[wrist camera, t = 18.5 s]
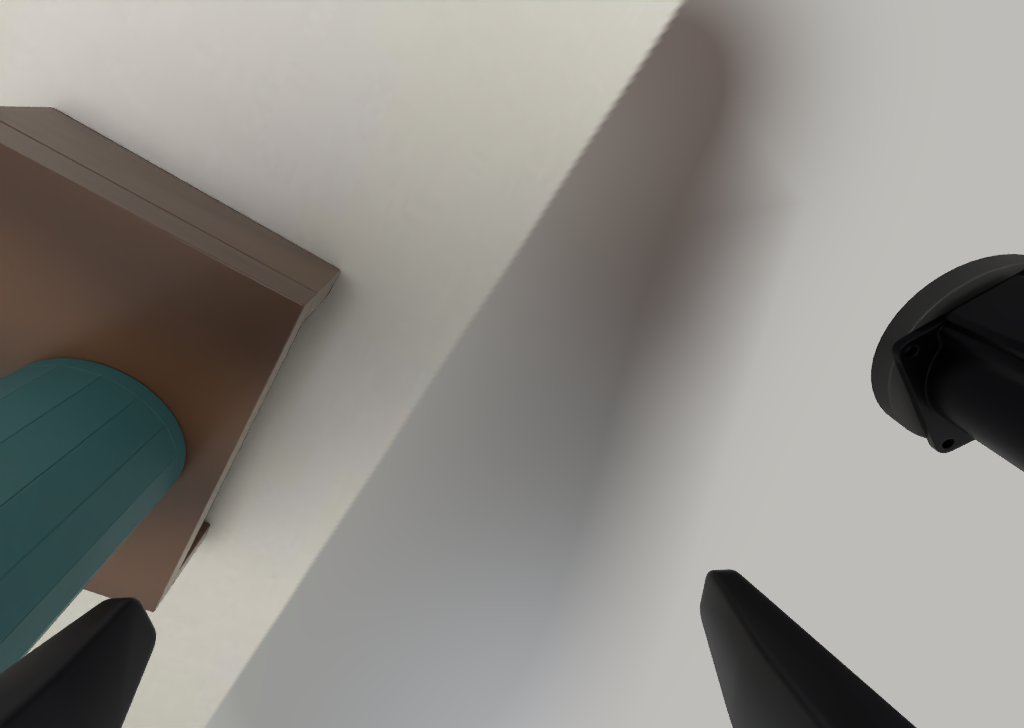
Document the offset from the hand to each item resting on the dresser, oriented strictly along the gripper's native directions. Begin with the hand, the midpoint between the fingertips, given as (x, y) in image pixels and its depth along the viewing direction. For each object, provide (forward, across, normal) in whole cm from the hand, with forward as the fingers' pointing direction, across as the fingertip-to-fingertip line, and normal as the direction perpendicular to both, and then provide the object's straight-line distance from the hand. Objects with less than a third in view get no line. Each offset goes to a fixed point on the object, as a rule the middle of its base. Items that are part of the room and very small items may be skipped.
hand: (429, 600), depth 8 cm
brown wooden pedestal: (+13, +13, +2) cm, 19 cm away
